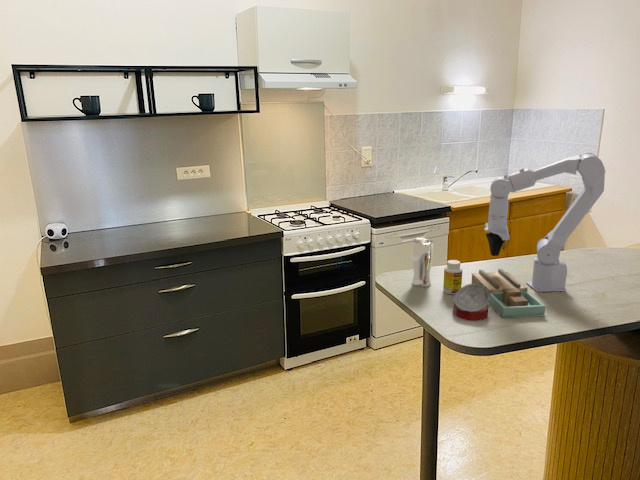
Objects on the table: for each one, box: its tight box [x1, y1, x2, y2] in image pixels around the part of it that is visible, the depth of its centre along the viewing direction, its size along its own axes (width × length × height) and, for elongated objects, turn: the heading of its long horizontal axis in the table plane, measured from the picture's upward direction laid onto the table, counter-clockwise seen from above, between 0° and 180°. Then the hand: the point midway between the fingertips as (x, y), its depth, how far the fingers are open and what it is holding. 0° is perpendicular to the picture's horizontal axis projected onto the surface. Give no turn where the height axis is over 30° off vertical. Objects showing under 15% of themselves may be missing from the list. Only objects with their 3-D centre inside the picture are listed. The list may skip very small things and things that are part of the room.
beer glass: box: [411, 237, 434, 288], centre depth 162 cm, size 7×7×15 cm
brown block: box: [502, 288, 521, 305], centre depth 145 cm, size 4×4×3 cm
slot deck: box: [471, 268, 528, 293], centre depth 155 cm, size 12×14×5 cm
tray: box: [488, 290, 546, 319], centre depth 143 cm, size 12×11×3 cm
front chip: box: [508, 295, 528, 307], centre depth 142 cm, size 4×4×3 cm
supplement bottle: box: [442, 259, 463, 296], centre depth 155 cm, size 6×6×10 cm
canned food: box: [452, 282, 490, 322], centre depth 141 cm, size 11×10×10 cm
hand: (494, 255), depth 161 cm, fingers closed
